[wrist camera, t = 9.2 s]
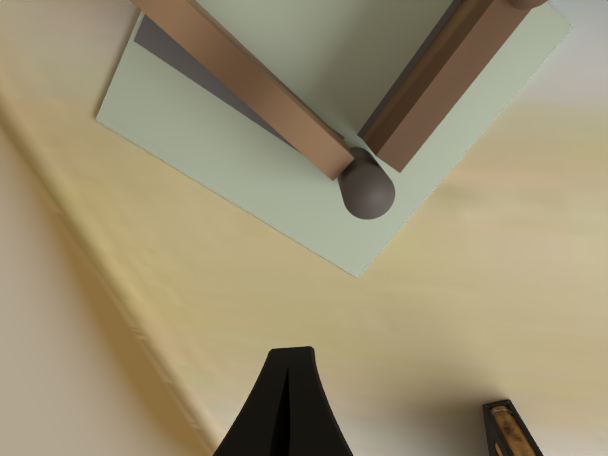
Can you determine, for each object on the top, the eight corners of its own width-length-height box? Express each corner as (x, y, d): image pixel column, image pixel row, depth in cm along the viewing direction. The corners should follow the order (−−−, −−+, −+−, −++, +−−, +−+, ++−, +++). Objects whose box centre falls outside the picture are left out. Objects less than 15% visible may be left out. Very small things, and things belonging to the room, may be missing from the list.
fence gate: (346, 140, 17) (358, 159, 13) (326, 162, 17) (331, 187, 14) (151, -45, 14) (96, -86, 10) (133, -13, 14) (74, -42, 11)
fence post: (503, 4, 15) (578, -21, 11) (358, 193, 18) (373, 228, 14) (468, -28, 15) (532, -66, 10) (326, 171, 18) (332, 202, 14)
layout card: (570, 27, 15) (574, 27, 15) (357, 276, 20) (358, 279, 20) (260, -268, 12) (259, -275, 12) (97, 119, 17) (95, 119, 17)
